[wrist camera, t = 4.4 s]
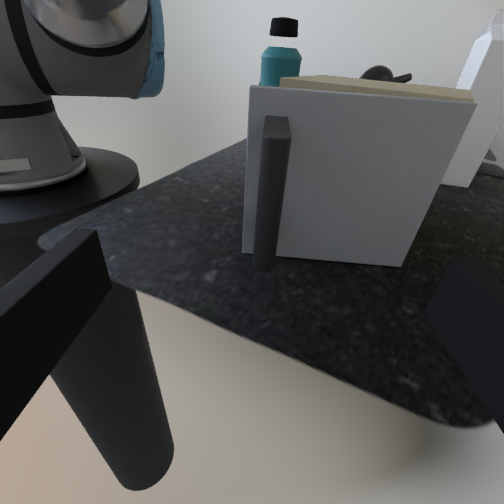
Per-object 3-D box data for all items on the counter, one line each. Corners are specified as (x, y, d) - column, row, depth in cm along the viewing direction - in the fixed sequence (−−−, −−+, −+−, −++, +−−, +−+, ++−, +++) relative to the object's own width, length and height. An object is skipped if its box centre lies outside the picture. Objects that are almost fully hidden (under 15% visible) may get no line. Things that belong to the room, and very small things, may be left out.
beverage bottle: (293, 155, 54) (312, 21, 42) (283, 165, 49) (301, 15, 37) (261, 150, 55) (271, 19, 44) (248, 159, 50) (256, 14, 39)
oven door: (431, 319, 21) (557, 123, 13) (233, 300, 21) (239, 98, 13) (397, 261, 27) (469, 101, 19) (242, 247, 27) (250, 84, 19)
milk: (467, 188, 45) (567, 7, 32) (427, 182, 46) (507, 5, 33) (456, 175, 50) (538, 13, 37) (419, 170, 51) (486, 11, 38)
